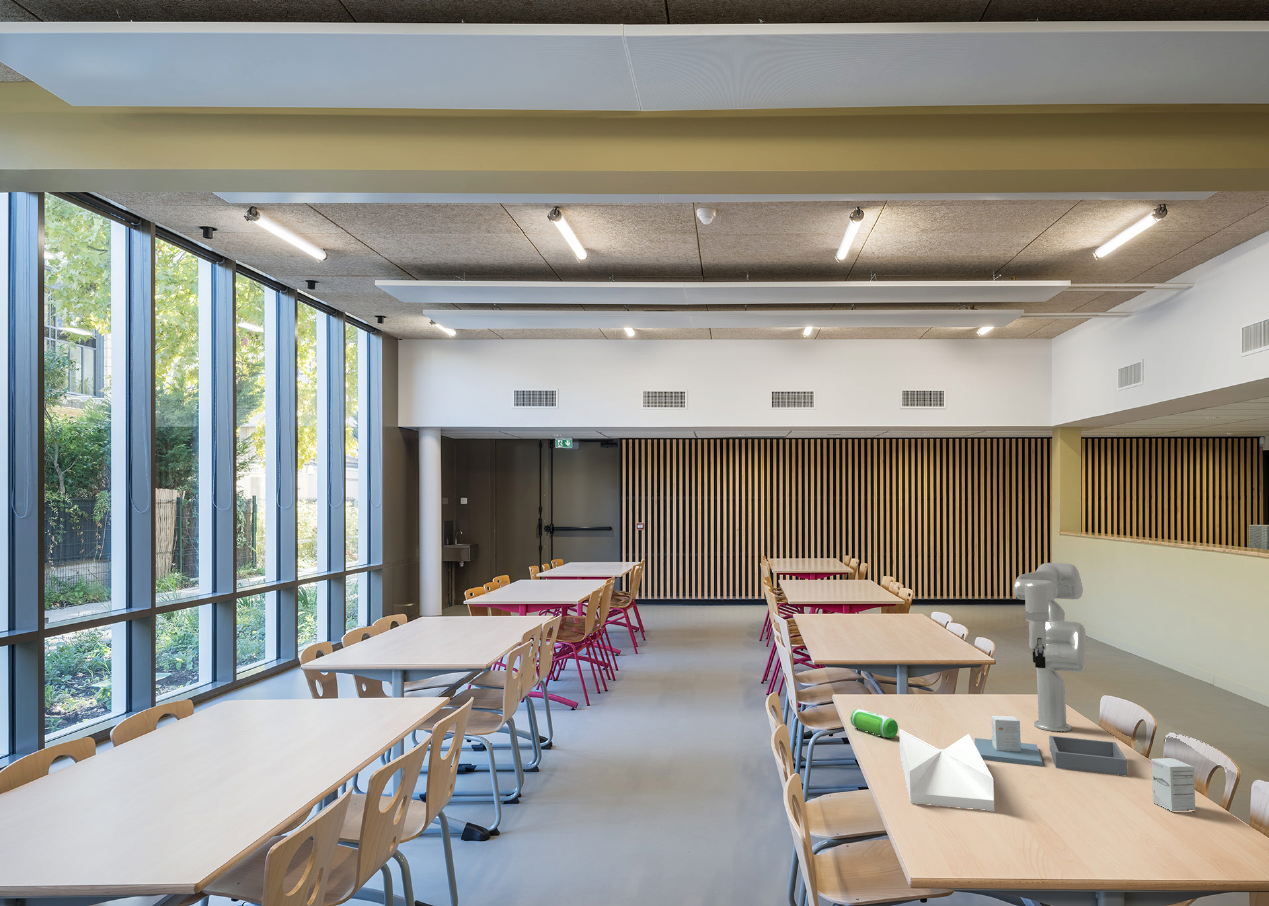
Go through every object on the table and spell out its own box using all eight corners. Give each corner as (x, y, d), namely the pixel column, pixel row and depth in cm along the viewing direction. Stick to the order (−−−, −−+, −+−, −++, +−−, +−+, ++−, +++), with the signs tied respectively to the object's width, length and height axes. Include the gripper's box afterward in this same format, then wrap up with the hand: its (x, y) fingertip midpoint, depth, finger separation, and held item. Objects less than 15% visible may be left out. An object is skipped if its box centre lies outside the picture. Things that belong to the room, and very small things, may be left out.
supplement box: (1152, 803, 223) (1150, 758, 223) (1176, 802, 223) (1174, 757, 224) (1171, 813, 215) (1169, 766, 216) (1196, 812, 216) (1194, 765, 217)
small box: (1016, 747, 270) (1015, 716, 270) (1021, 752, 264) (1020, 720, 265) (992, 745, 271) (991, 714, 272) (996, 750, 266) (995, 719, 266)
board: (974, 742, 280) (974, 737, 280) (1036, 748, 273) (1036, 744, 273) (975, 758, 262) (975, 754, 262) (1042, 766, 254) (1042, 761, 254)
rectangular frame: (1049, 750, 271) (1049, 735, 271) (1116, 757, 263) (1115, 742, 264) (1056, 767, 253) (1055, 752, 253) (1127, 776, 245) (1127, 759, 245)
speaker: (899, 738, 286) (899, 717, 286) (885, 741, 282) (885, 720, 283) (862, 726, 301) (862, 706, 301) (849, 729, 297) (849, 709, 298)
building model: (899, 756, 266) (899, 728, 266) (969, 762, 260) (968, 733, 260) (910, 805, 222) (909, 771, 223) (994, 813, 216) (993, 778, 217)
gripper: (1023, 613, 288) (1025, 660, 287) (1027, 619, 272) (1029, 669, 271) (1046, 614, 285) (1048, 661, 284) (1051, 620, 269) (1053, 670, 268)
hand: (1039, 665), depth 277 cm, fingers open, 9 cm apart
